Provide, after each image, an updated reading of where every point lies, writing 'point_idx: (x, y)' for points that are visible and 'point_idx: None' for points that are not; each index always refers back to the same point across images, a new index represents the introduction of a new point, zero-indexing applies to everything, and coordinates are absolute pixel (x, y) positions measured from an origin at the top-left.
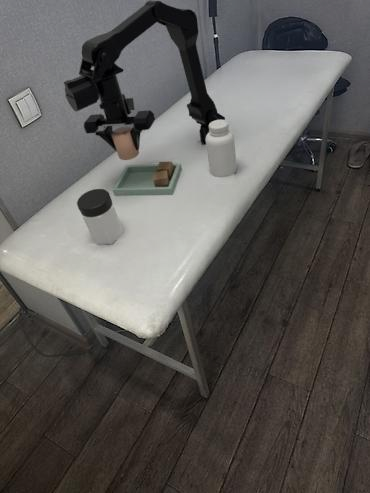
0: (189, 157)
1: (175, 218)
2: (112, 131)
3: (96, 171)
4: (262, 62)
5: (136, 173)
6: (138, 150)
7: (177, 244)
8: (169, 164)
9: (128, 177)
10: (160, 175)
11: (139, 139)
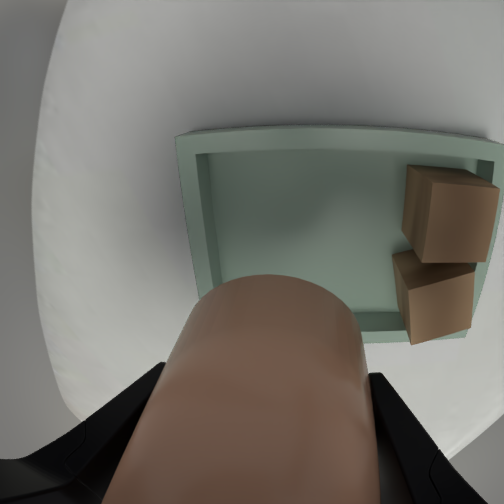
0: (491, 28)
1: (449, 390)
2: (72, 484)
3: (43, 142)
4: None
5: (250, 158)
6: (364, 350)
7: (440, 437)
8: (488, 219)
9: (218, 194)
10: (444, 312)
11: (424, 440)
